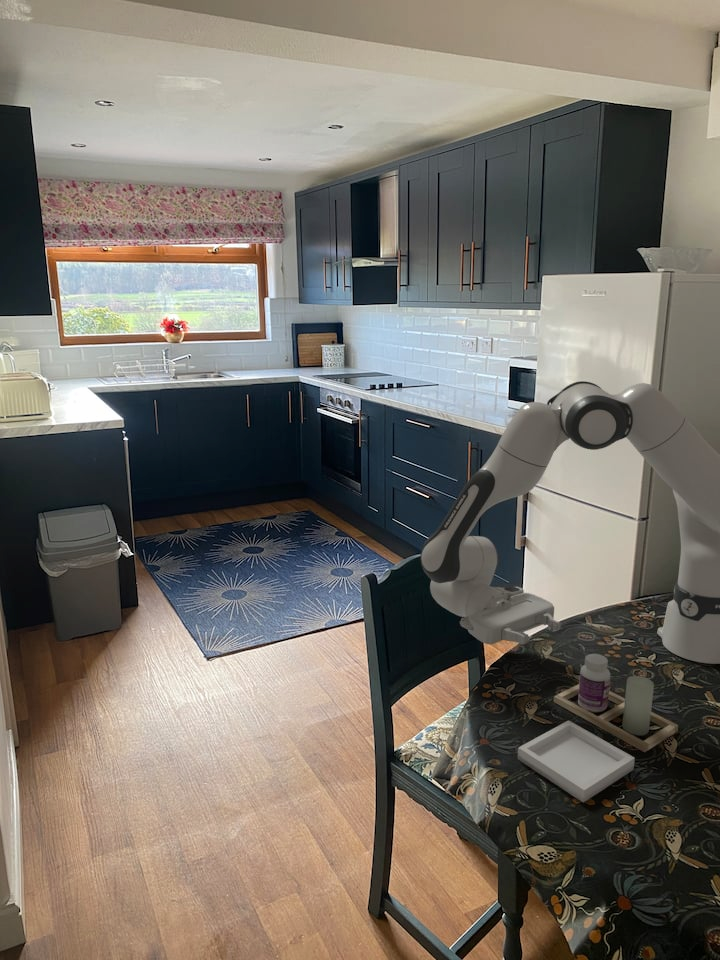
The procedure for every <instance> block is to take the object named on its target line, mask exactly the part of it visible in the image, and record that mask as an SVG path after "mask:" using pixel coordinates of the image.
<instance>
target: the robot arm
mask: <svg viewBox="0 0 720 960" xmlns="http://www.w3.org/2000/svg"><path fill="white" fill-rule="evenodd" d="M569 439H570V440H571V442H572V443H574V444H575V445H576V446H579V447H580V448H583V449H586V450H591V451H592V450H593V451H594V450H597V451H598V450H602V449H604V448H605V449H606V448H607V447H609V446H611V445H612V444H614V443H615V442H618V441H620V440H623V439H627V440H628V441H629V442H630V443H631V444H632V445H633V447H634V448H635V449H636V450H637V452H638V453H639V454H640V455H641V456H642V458H643V459H644V460H645V461H646V463H647V464H649V466H650V467H651V468H652V469H653V470H654V472H656V474H657V475H658V476H659V477H660V478H661V479H662V480H663V481H664V482H665V483H666V484H667V485H668V486H669V487H670V488H671V489H672V494H673V497H674V499H675V502H676V507H677V516H678V525H679V536H680V557H679V558H680V559H679V569H678V577H677V581H675V584H674V588H673V599H672V600H670V601H668V603H667V606H666V611H665V616H664V621H663V626H661V627H658V628H657V632H656V633H657V635H658V636H659V637H660V638H661V640H662V641H661V642H662V645H663V646H664V648H665V649H667V650H668V651H669V652H671V653H672V654H674V655H676V656H679V657H681V658H683V659H686V660H689V661H693V662H697V663H703V664H712V665H713V664H714V665H715V664H716V665H717V664H719V665H720V453H719V452H717V451H716V450H715V449H714V448H713V447H712V446H711V445H710V444H709V443H708V441H707V440H706V439H705V438H704V437H703V436H702V435H701V433H700V432H699V431H698V430H697V429H696V427H695V426H694V425H693V424H692V422H690V421H689V419H688V418H687V417H686V416H685V414H684V413H683V412H682V411H681V410H680V409H679V407H678V406H676V404H675V403H674V402H673V401H672V400H671V399H670V398H669V397H668V396H667V395H666V394H664V393H663V392H661V390H659V389H658V388H656V387H655V386H654V385H652V384H649V383H645V382H644V383H643V382H641V383H636V384H633V385H631V386H628V387H627V388H625V389H624V390H623V391H621V392H619V393H617V394H610V393H609V392H608V391H606V390H604V389H602V387H601V386H599V385H598V384H596V383H593V382H590V381H583V380H582V381H575V382H572V383H570V384H568V385H567V386H565V387H564V388H563V389H561V390H560V391H559V392H558V393H556V394H555V395H554V396H552V397H550V399H548V401H547V402H546V403H544V402H539V401H531V402H527V403H525V404H523V405H521V406H520V407H519V409H518V410H517V411H516V413H515V414H514V415H513V417H512V418H511V420H510V421H509V423H508V424H507V427H506V428H505V430H504V431H503V433H502V435H501V437H500V439H499V440H498V442H497V445H496V447H495V449H494V450H493V452H492V454H491V455H490V456H489V458H488V459H487V461H486V462H485V463H484V465H483V466H482V467H481V468H480V469H478V471H477V472H475V473H474V474H473V475H472V476H471V477H470V478H469V480H468V481H467V482H466V483H465V485H464V487H463V488H462V489H461V491H460V493H459V494H458V496H457V498H456V499H455V500H454V502H453V504H452V505H451V507H450V509H449V510H448V512H447V514H446V515H445V517H444V519H443V520H442V522H441V523H440V525H439V526H438V528H437V529H436V530H435V531H434V532H433V533H432V534H431V535H430V536H429V537H428V538H427V539H426V541H425V542H424V544H423V545H422V548H421V551H420V559H419V561H420V564H421V567H422V570H423V571H424V574H426V576H427V577H428V578H429V579H430V580H431V581H430V585H429V589H430V590H429V591H430V594H431V596H432V598H433V600H435V602H436V603H437V604H438V605H440V606H441V607H442V608H444V609H445V610H447V611H449V612H450V613H452V614H454V615H456V616H458V617H461V619H460V621H459V624H460V626H461V627H462V628H464V629H466V630H467V631H468V633H469V634H470V635H472V637H474V638H476V640H478V641H480V643H483V644H485V645H494V644H497V643H499V642H502V641H505V642H513V643H518V644H520V645H525V644H527V643H529V638H530V636H529V634H527V633H525V632H527V631H530V630H532V629H535V628H537V627H540V626H546V625H547V630H548V631H552V632H553V633H555V632H558V631H559V630H560V629H561V623H560V622H559V621H557V620H555V619H554V616H555V606H554V605H553V603H552V602H550V601H549V600H546V599H544V598H543V597H540V596H538V595H535V594H533V593H530V592H525V591H524V588H522V587H519V586H509V587H502V586H500V587H498V586H494V587H493V586H491V584H492V582H493V579H494V577H495V574H496V571H497V568H498V563H499V554H498V550H497V547H496V546H495V544H494V542H493V541H492V540H491V539H490V538H488V537H486V536H482V535H481V536H480V535H477V536H475V535H470V534H471V532H472V530H473V529H474V527H475V526H476V524H477V522H478V521H479V520H480V518H481V516H482V515H483V514H484V513H485V512H486V511H488V509H490V508H492V507H493V506H494V505H496V504H499V503H501V502H504V501H507V500H510V499H513V498H518V497H521V496H523V495H526V494H527V493H529V492H531V491H532V490H533V489H534V488H535V486H536V485H538V483H539V482H540V480H541V479H542V477H543V475H544V474H545V472H546V470H547V468H548V466H549V464H550V462H551V460H552V458H553V455H554V453H555V452H556V451H557V449H558V448H559V446H560V445H562V444H563V443H565V442H566V441H568V440H569Z"/></svg>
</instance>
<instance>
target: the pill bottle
mask: <svg viewBox="0 0 720 960" xmlns="http://www.w3.org/2000/svg"><path fill="white" fill-rule="evenodd" d="M584 658H585V659H584V665H582V666H581V668H580V671H579V683H578V684H579V694H577V696H578V697H577V699H578V700H577V703H578V706H580V707H581V708H583V709H585V710H587V711H589V712H591V713H602V712H604V711H605V710H606V709H607V707H608V702H609V700H608V695H609V691H610V685H611V672H610V670H609V668H608V666H609V665H608V663H609V661H608V658H607V657H606V656H604V655H602V654H598V653H590V654H587V655H586V656H585V657H584Z"/></svg>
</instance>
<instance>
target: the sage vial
mask: <svg viewBox="0 0 720 960" xmlns="http://www.w3.org/2000/svg"><path fill="white" fill-rule="evenodd" d="M654 688H655V683H654V682H653V680H651V679H649V678H647V677H644V676H642V675H641V676H640V675H633V676H629V677H627V678H626V685H625V695H624V696H625V697H624V698H625V704H624V713H623V714H622V715H623V716H622V725H621V726H622V730H624V731H626V732H628V733H629V734H631V735H633V736H645V735H648V733H649V732H650V724H651V723H650V722H651V721H650V716H651V712H652V704H653V698H654Z"/></svg>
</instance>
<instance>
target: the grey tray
mask: <svg viewBox="0 0 720 960" xmlns="http://www.w3.org/2000/svg"><path fill="white" fill-rule="evenodd" d="M635 759H636V758H635V756H632V755H631V754H629V753H628V752H626V751H623V750H622V749H620V748H618V747H616V746H614V745H613V744H611V743H609V742H608V741H606V740H604V739H602V738H601V737H599V736H597V735H595V734H594V733H592V732H590V731H589V730H586V729H584V728H583V727H581V726H580V725H578V724H576V723H574V722H572V721H571V720H567V721H565V722H563V723H561V724H558V725H557V726H556V727H554V728H551V729H550V730H548V731H546V732H545V733H543V734H541V735H539V736H537V737H535V738H534V739H532V740H530V741H528V742H526V743H524V744H522V745H521V746H519V747H518V749H517V760H518V761H520V762H521V763H522V764H524V765H525V766H527V767H529V768H530V769H532V770H533V771H535V772H536V773H538V774H539V775H541V776H542V777H543V778H545V779H547V780H548V781H550V782H551V783H553V784H554V785H556V786H558V788H560V789H561V790H563V791H565V792H567V793H568V794H569V795H570V796H573V798H576V799H577V800H579V801H580V802H582V803H583V804H584V803H585V802H586V801H588V800H590V799H591V798H592V797H594V796H596V795H597V794H599V793H600V792H602V791H603V790H605V789H606V788H607V787H609V786H611V785H613V784H615V782H617V781H619V780H620V779H622V778H623V777H624V776H626V775H628V774H629V773H630V772H632V771H634V769H635V768H634V767H635Z"/></svg>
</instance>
